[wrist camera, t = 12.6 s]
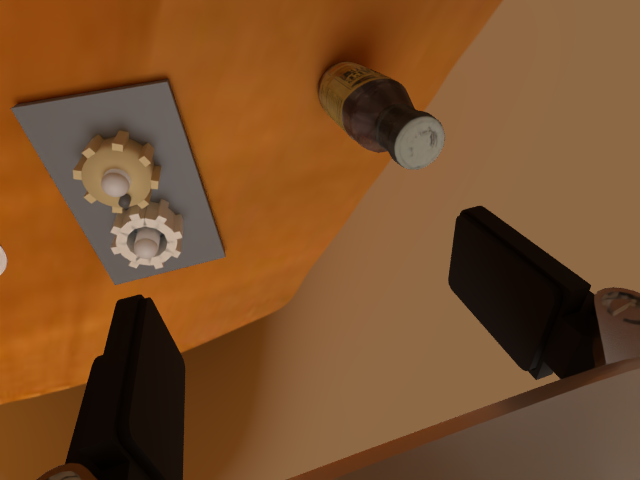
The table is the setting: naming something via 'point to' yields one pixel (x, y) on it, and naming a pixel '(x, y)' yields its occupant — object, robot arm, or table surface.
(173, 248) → the gear
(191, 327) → the table surface
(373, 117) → the sauce bottle
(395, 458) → the robot arm
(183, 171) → the gear board
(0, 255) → the teacup and saucer
